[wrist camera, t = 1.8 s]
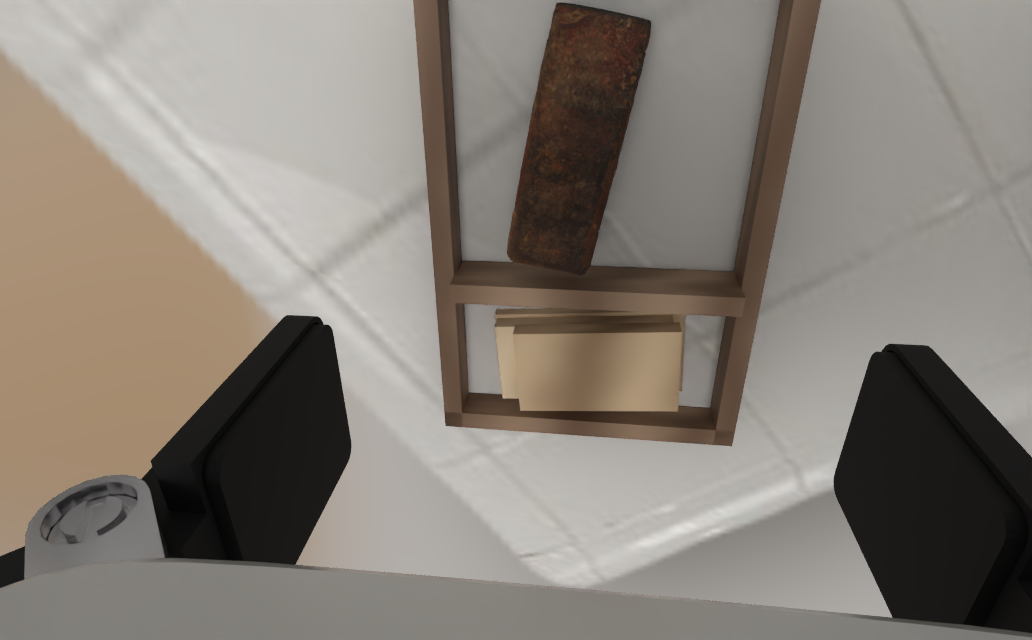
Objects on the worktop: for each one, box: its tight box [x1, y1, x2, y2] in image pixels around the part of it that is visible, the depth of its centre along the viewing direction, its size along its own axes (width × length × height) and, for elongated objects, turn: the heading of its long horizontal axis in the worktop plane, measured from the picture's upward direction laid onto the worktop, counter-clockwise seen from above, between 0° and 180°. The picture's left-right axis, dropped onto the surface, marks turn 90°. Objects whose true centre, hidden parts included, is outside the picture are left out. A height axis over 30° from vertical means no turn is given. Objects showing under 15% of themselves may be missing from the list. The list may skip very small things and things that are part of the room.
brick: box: [507, 3, 651, 276], centre depth 28 cm, size 11×4×5 cm, turn 169°
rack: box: [413, 0, 821, 446], centre depth 30 cm, size 16×24×3 cm
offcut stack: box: [495, 308, 685, 411], centre depth 34 cm, size 10×5×3 cm, turn 95°
